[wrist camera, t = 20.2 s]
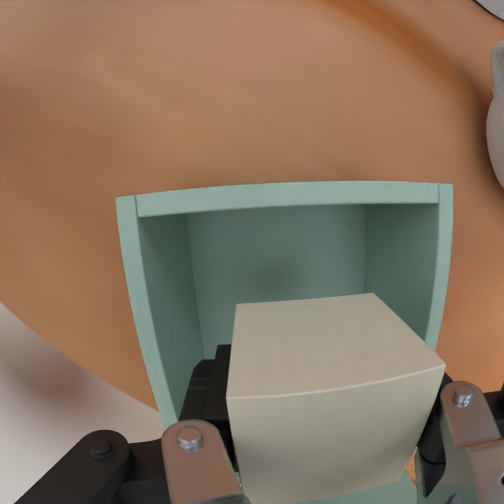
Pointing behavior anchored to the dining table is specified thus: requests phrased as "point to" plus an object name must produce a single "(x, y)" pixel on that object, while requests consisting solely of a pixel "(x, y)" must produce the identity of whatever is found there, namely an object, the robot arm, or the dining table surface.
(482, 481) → the robot arm
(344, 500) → the lid
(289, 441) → the block
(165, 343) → the sage green storage bin
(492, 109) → the teacup
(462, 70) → the dining table surface
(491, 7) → the chalice
